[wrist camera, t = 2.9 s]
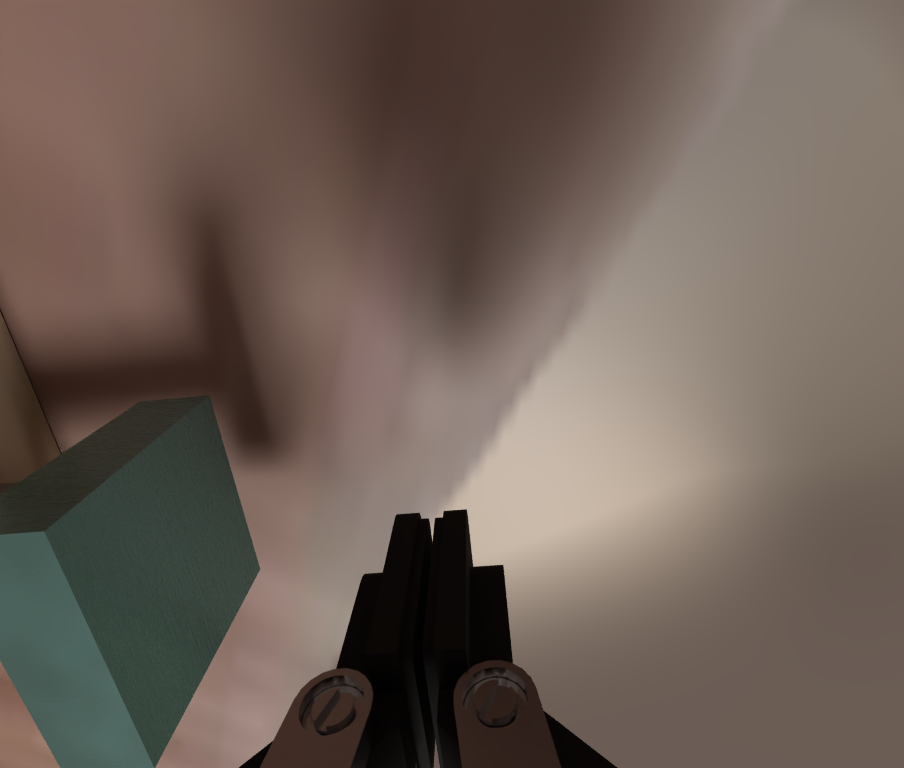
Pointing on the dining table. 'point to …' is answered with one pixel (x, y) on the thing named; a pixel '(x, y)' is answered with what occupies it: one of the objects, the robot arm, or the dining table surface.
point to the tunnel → (20, 418)
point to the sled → (122, 581)
